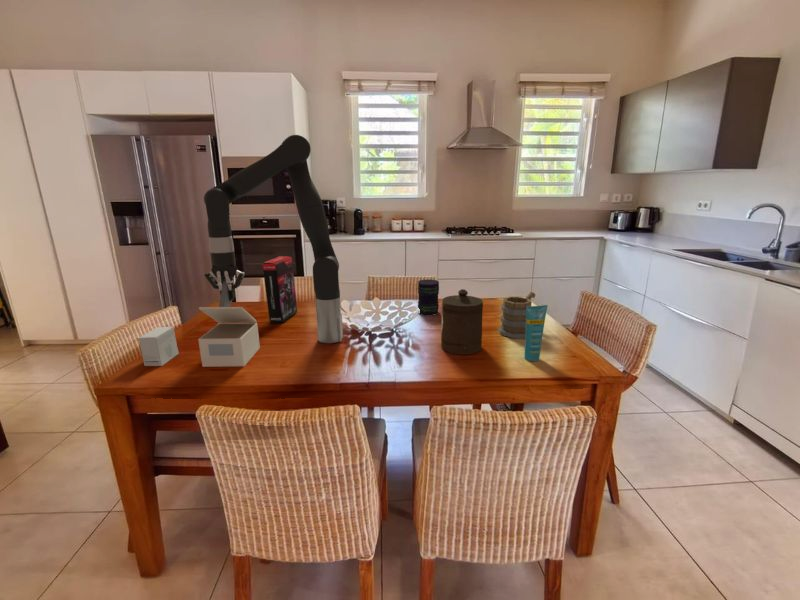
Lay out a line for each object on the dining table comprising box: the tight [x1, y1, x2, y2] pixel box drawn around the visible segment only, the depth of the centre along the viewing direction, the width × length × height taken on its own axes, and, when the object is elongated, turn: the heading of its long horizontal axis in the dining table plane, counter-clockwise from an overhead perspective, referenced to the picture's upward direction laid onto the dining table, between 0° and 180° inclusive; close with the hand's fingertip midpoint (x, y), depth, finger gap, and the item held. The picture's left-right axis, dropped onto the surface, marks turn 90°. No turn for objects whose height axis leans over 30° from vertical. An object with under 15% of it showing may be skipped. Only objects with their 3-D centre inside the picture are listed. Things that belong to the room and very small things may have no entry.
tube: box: [523, 304, 548, 362], centre depth 137 cm, size 7×5×19 cm, turn 103°
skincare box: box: [137, 326, 180, 367], centre depth 139 cm, size 10×6×10 cm, turn 178°
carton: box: [198, 322, 261, 368], centre depth 141 cm, size 14×16×10 cm
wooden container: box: [440, 288, 484, 356], centre depth 147 cm, size 15×15×22 cm
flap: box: [198, 280, 257, 323], centre depth 142 cm, size 14×15×11 cm
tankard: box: [497, 291, 536, 339], centre depth 164 cm, size 20×13×15 cm, turn 131°
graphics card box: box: [262, 255, 298, 324], centre depth 181 cm, size 17×7×27 cm, turn 172°
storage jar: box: [417, 279, 440, 316], centre depth 189 cm, size 10×10×15 cm
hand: (228, 300), depth 139 cm, fingers closed on flap
